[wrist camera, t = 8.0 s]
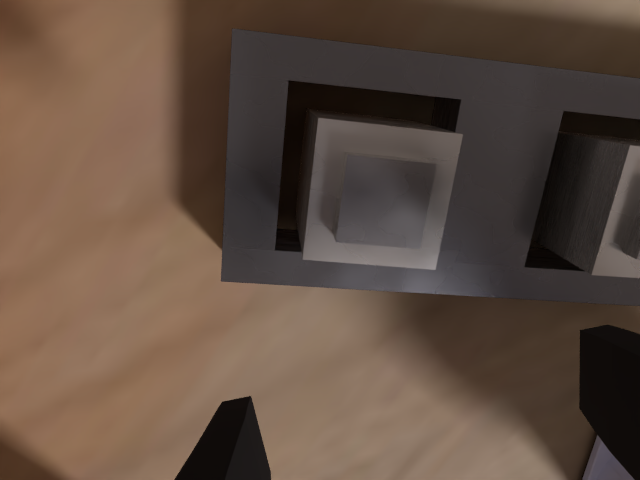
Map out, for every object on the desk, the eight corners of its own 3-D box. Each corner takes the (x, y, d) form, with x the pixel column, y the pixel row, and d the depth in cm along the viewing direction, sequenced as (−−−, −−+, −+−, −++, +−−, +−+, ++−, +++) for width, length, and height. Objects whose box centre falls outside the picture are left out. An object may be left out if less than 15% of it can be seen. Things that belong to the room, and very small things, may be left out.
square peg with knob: (632, 138, 19) (773, 160, 13) (603, 235, 20) (723, 290, 15) (537, 129, 18) (645, 148, 13) (514, 228, 20) (604, 282, 14)
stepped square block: (412, 120, 18) (471, 136, 12) (395, 223, 19) (442, 277, 14) (306, 108, 17) (320, 119, 12) (295, 214, 18) (303, 267, 13)
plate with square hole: (708, 93, 18) (773, 94, 16) (644, 283, 21) (691, 309, 18) (238, 36, 16) (232, 28, 14) (227, 256, 19) (220, 281, 16)
